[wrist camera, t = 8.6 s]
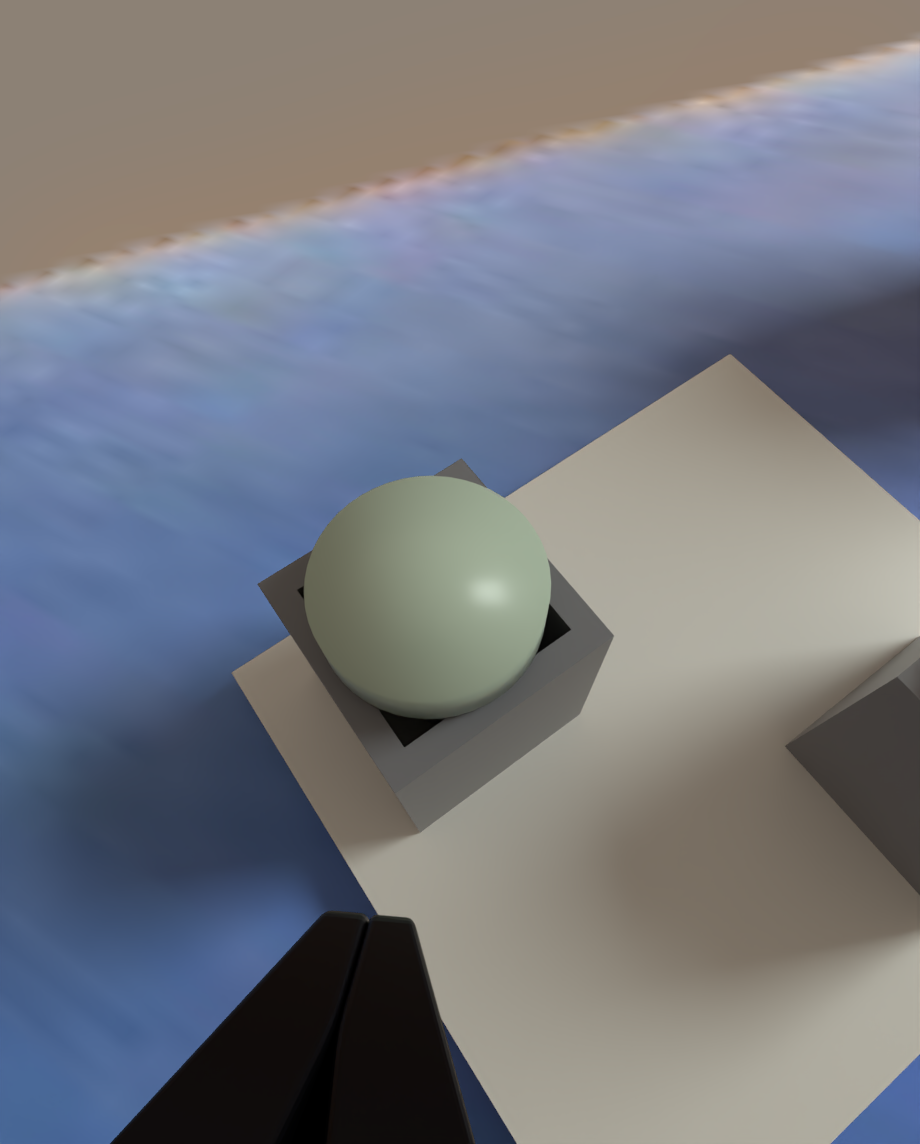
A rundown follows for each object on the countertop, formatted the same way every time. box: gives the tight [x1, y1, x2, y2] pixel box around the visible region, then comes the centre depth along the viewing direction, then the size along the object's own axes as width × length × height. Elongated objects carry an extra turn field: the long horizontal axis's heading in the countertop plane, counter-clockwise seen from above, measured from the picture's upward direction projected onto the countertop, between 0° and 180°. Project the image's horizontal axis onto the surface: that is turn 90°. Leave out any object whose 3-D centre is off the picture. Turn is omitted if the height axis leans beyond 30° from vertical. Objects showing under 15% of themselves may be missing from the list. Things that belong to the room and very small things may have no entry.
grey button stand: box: [232, 354, 920, 1144], centre depth 18 cm, size 19×17×7 cm
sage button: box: [304, 476, 551, 724], centre depth 17 cm, size 5×5×7 cm
